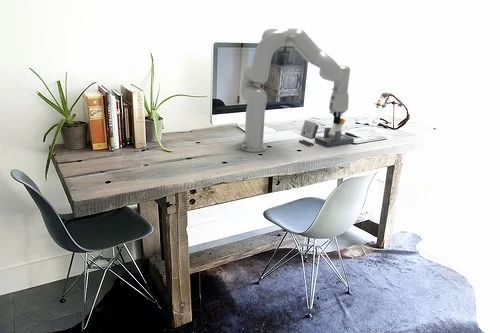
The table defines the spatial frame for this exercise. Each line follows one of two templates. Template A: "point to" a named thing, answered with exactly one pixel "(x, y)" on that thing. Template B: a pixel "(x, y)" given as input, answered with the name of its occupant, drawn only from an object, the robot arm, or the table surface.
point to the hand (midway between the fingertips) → (336, 123)
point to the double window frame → (332, 142)
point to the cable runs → (306, 143)
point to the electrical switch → (309, 129)
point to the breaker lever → (335, 128)
